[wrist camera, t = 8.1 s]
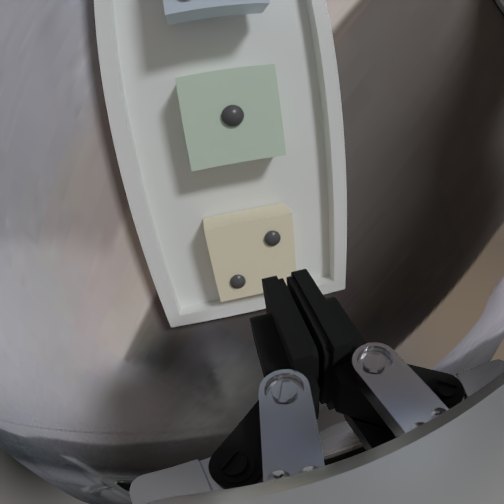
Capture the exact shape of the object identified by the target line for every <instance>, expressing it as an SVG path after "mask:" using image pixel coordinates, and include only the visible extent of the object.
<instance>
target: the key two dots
mask: <svg viewBox="0 0 504 504" xmlns="http://www.w3.org/2000/svg"><path fill="white" fill-rule="evenodd" d="M203 223H204V232H205V237H206V241H207V246H208V250H209V254H210V259H211V263H212V267H213V271H214V276H215V280H216V284H217V288H218V292H219V296H220V300H221V302H223V301H228V300H233V299H238V298H243V297H247V296H252V295H256V294H261V293H263V286H262V279H263V278H268V277H272V276H277V278H278V279H281V278H283V279H284V281H285V283H286V285H287V277H289V276H291V272H293V271H296V258H295V244H294V231H293V219H292V212H291V211H290V210H289V209H288V208H287V207H286V206H285V204H284V203H280V204H274V205H269V206H263V207H258V208H253V209H247V210H242V211H237V212H232V213H227V214H222V215H217V216H212V217H207V218H203Z"/></svg>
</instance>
